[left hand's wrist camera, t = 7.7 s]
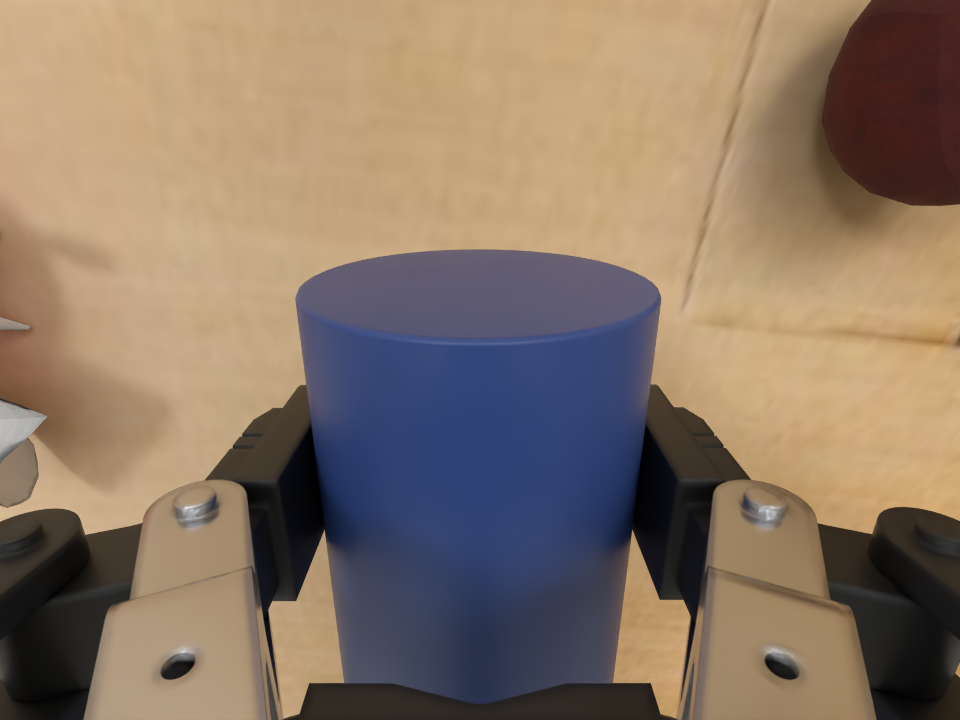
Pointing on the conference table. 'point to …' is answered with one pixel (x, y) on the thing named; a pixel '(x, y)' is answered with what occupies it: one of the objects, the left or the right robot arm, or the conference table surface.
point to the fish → (17, 444)
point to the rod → (478, 463)
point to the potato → (899, 101)
